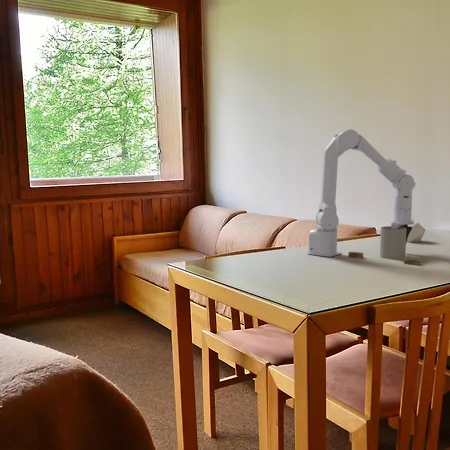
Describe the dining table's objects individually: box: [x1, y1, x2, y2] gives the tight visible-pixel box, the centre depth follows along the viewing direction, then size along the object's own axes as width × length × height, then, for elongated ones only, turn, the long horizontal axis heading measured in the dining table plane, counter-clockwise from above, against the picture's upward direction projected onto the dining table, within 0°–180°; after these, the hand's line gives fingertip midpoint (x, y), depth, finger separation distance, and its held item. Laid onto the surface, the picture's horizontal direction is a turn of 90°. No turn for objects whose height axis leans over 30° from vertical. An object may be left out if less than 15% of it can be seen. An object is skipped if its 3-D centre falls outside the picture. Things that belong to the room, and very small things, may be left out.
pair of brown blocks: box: [348, 251, 421, 266], centre depth 167 cm, size 24×2×2 cm, turn 49°
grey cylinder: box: [379, 225, 407, 260], centre depth 172 cm, size 8×8×10 cm
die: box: [407, 220, 426, 243], centre depth 204 cm, size 8×9×10 cm
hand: (401, 246), depth 179 cm, fingers closed
